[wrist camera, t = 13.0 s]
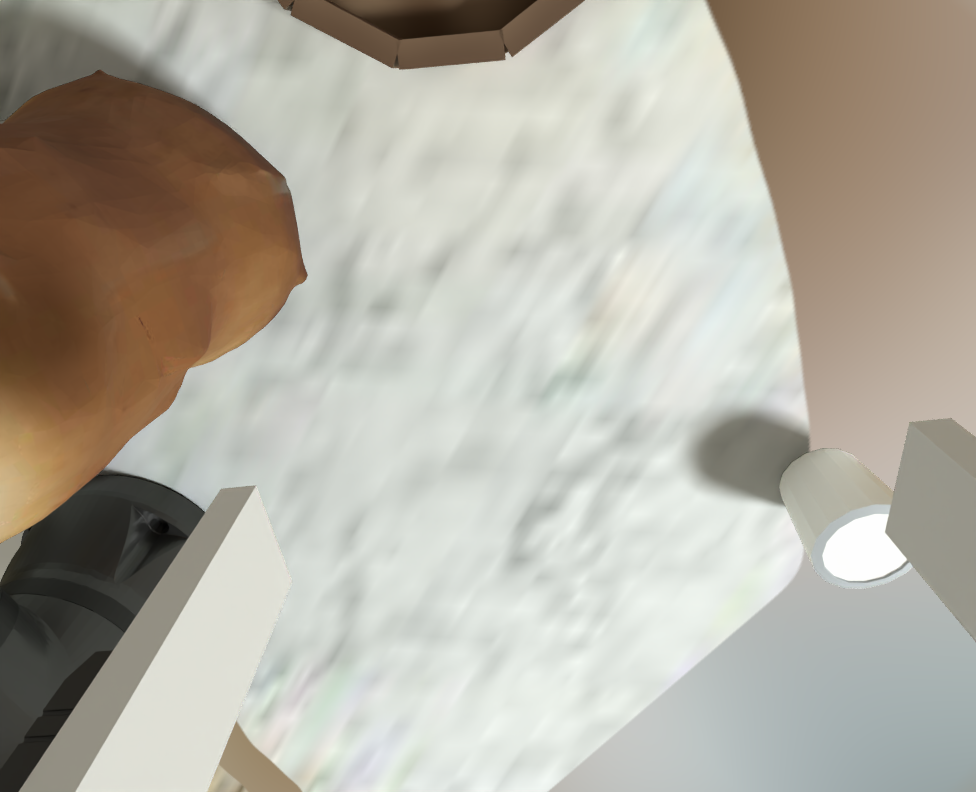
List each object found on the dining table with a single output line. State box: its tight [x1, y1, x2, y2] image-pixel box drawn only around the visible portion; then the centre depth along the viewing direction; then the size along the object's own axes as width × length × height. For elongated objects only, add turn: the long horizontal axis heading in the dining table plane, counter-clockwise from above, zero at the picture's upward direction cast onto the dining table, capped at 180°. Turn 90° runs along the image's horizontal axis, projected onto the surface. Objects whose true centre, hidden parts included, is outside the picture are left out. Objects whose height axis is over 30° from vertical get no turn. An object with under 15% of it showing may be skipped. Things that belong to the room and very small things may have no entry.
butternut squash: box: [0, 70, 308, 543], centre depth 25 cm, size 14×13×25 cm
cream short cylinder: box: [779, 448, 913, 589], centre depth 40 cm, size 7×7×7 cm
